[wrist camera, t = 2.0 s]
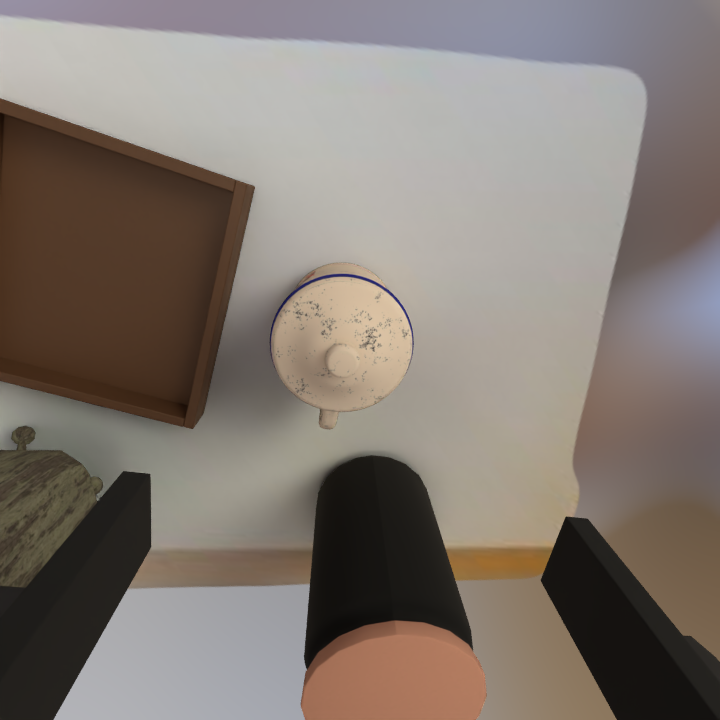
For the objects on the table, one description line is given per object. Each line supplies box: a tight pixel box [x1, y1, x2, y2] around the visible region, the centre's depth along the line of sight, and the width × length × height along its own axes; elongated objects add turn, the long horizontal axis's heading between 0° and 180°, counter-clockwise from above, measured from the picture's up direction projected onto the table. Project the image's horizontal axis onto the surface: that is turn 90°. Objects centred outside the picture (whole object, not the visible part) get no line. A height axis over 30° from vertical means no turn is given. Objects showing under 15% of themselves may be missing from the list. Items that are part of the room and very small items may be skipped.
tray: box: [0, 99, 255, 429], centre depth 31 cm, size 18×20×3 cm
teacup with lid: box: [270, 263, 414, 429], centre depth 29 cm, size 12×9×12 cm
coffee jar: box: [301, 456, 487, 720], centre depth 32 cm, size 11×11×18 cm
